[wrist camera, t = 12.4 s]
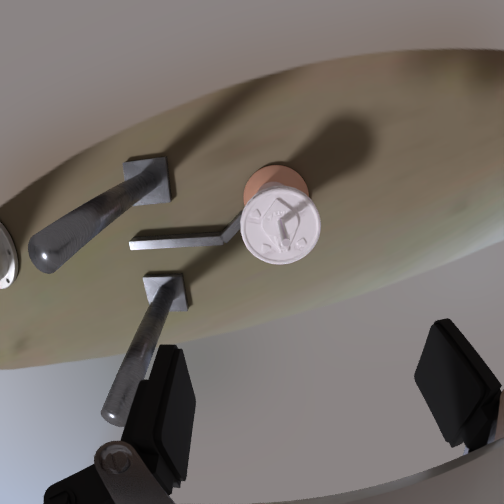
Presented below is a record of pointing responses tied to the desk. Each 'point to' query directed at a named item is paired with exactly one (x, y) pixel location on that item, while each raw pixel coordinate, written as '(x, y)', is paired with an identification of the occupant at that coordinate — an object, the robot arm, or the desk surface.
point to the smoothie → (280, 224)
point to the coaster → (274, 180)
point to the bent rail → (187, 238)
